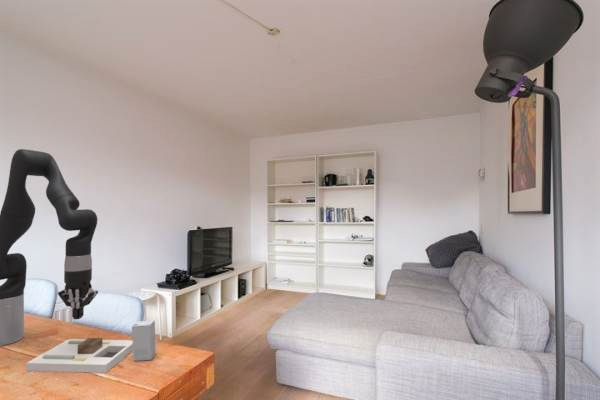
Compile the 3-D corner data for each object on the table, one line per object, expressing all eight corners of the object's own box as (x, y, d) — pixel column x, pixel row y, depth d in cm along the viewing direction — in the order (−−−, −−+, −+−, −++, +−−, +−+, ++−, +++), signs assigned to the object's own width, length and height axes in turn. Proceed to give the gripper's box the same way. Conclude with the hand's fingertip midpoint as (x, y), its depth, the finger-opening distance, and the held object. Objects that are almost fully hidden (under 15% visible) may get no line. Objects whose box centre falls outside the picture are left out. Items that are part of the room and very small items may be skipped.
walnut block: (77, 354, 99) (77, 345, 99) (88, 346, 104) (88, 338, 104) (92, 353, 99) (92, 344, 99) (102, 346, 104) (102, 338, 104)
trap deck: (26, 370, 93) (26, 360, 93) (68, 346, 109) (68, 337, 109) (105, 372, 92) (105, 362, 92) (136, 347, 108) (136, 338, 108)
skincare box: (156, 354, 103) (156, 319, 103) (151, 361, 99) (150, 324, 99) (137, 355, 103) (137, 320, 103) (131, 362, 98) (131, 325, 98)
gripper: (50, 270, 97) (49, 322, 97) (88, 270, 97) (88, 323, 97) (68, 265, 105) (68, 313, 105) (104, 265, 104) (104, 314, 104)
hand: (77, 318), depth 101 cm, fingers closed
